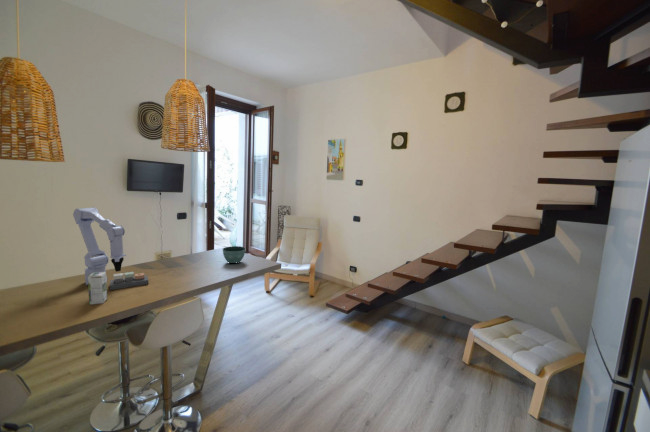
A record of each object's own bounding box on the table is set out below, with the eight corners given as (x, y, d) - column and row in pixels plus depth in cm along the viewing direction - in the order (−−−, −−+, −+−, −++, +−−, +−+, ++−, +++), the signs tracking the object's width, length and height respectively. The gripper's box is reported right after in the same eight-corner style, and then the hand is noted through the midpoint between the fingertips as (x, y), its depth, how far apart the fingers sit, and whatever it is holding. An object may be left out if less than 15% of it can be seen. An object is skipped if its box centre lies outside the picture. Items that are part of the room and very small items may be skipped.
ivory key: (114, 284, 158) (113, 276, 157) (114, 282, 161) (113, 274, 161) (123, 283, 160) (123, 275, 160) (123, 280, 164) (123, 273, 163)
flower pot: (247, 259, 221) (247, 246, 219) (242, 266, 205) (242, 251, 203) (226, 259, 220) (226, 245, 218) (220, 265, 204) (219, 251, 202)
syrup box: (93, 300, 142) (91, 272, 140) (108, 298, 144) (106, 271, 142) (89, 304, 137) (86, 276, 135) (103, 303, 139) (101, 275, 137)
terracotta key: (135, 283, 164) (135, 276, 163) (135, 281, 167) (134, 274, 167) (144, 282, 166) (144, 275, 166) (144, 280, 170) (143, 272, 169)
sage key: (124, 282, 161) (124, 275, 160) (124, 280, 164) (124, 272, 164) (134, 281, 163) (133, 273, 163) (133, 279, 167) (133, 271, 166)
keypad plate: (110, 290, 155) (109, 285, 155) (110, 284, 163) (110, 280, 163) (148, 284, 165) (148, 279, 165) (147, 278, 173) (147, 275, 173)
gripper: (125, 249, 155) (126, 273, 157) (125, 244, 167) (126, 266, 168) (109, 251, 151) (111, 275, 152) (110, 245, 162) (111, 268, 164)
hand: (118, 271), depth 160 cm, fingers closed
